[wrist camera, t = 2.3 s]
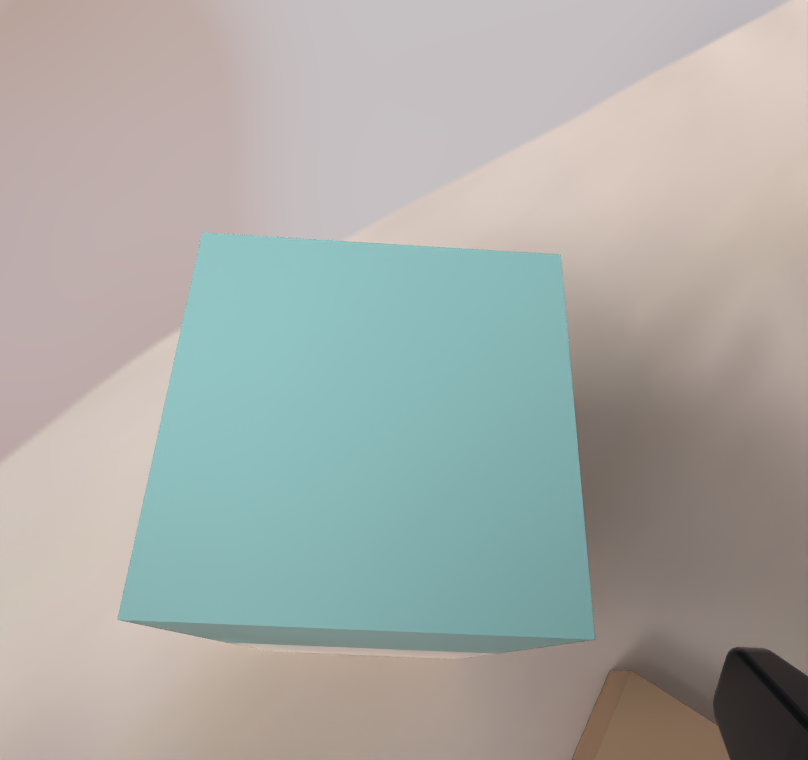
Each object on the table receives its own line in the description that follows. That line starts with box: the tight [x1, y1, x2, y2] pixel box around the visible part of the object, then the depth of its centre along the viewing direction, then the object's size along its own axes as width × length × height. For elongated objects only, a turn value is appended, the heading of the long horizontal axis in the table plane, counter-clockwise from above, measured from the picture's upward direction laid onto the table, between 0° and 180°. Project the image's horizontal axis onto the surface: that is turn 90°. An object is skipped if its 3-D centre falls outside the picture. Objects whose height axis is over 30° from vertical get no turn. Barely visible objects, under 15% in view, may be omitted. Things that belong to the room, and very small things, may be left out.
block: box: [117, 233, 595, 659], centre depth 13 cm, size 5×5×11 cm
